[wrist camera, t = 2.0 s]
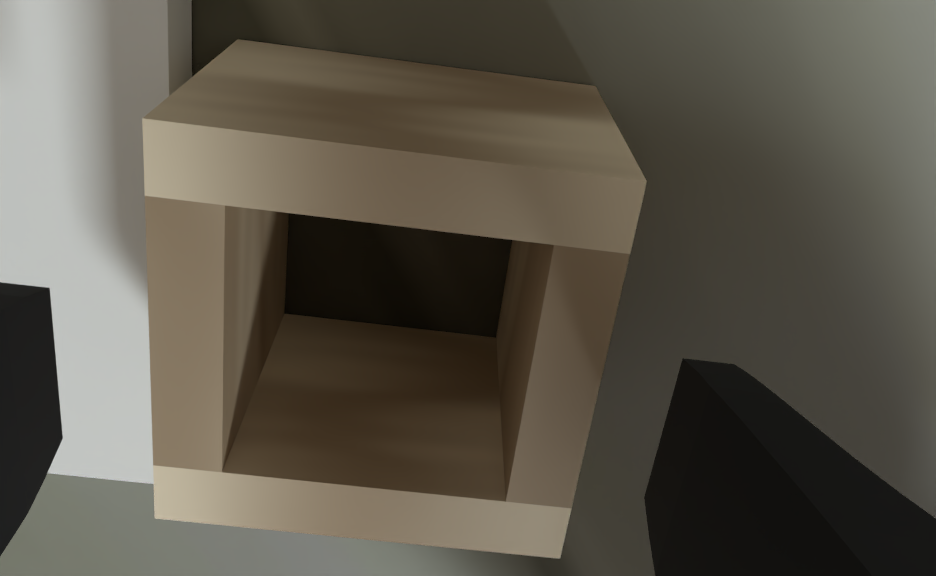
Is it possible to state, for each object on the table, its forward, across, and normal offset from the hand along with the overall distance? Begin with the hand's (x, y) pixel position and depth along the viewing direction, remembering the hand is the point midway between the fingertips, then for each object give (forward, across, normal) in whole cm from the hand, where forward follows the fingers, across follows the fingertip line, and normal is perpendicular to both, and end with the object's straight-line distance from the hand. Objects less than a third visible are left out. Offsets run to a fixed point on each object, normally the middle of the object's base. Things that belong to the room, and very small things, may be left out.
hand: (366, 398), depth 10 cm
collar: (+5, 0, 0) cm, 5 cm away
